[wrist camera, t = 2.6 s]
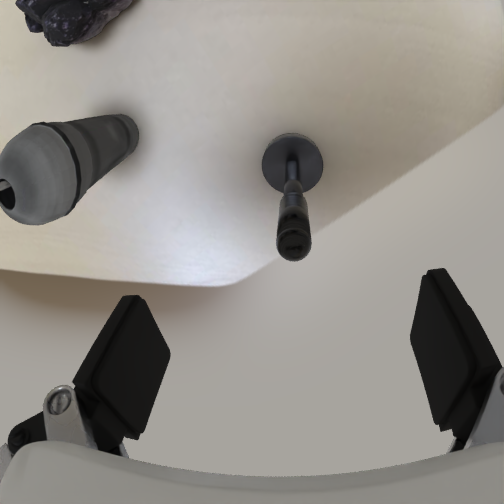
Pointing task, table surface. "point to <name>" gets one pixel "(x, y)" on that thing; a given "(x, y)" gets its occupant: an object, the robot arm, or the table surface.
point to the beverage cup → (60, 164)
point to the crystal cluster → (69, 18)
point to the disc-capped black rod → (292, 189)
